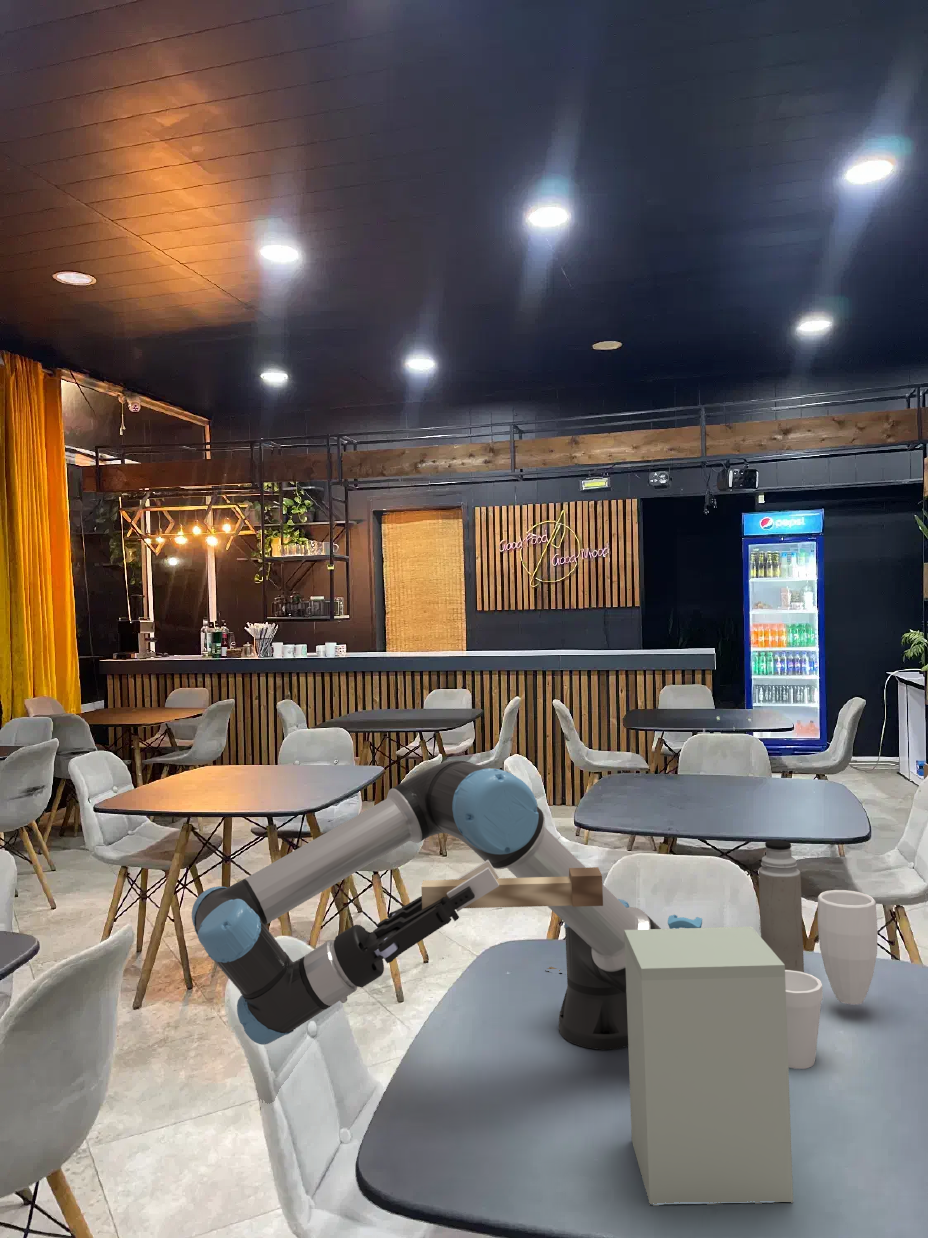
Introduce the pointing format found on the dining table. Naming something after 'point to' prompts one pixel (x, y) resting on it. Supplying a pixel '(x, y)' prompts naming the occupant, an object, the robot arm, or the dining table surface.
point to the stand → (708, 1065)
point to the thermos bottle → (781, 904)
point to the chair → (683, 922)
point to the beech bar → (529, 891)
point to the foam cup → (802, 1017)
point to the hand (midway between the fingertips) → (493, 872)
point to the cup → (848, 942)
